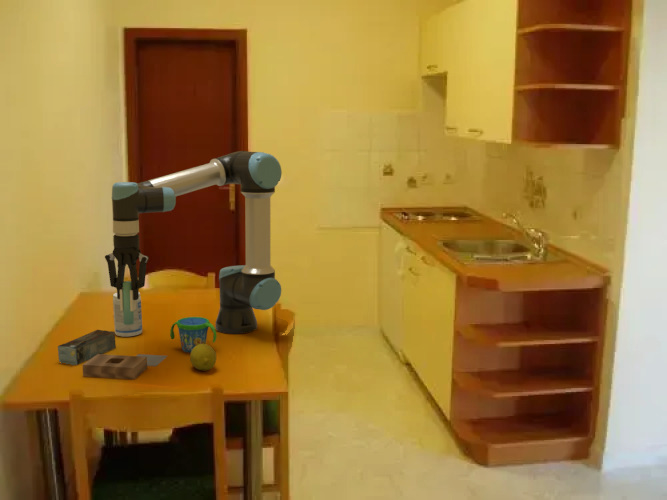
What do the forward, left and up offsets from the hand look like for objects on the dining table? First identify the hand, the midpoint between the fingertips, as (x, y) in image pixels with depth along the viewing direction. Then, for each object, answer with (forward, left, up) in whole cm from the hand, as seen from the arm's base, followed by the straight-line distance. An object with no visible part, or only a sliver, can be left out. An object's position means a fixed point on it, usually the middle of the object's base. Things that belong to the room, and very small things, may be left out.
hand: (128, 309), depth 228 cm
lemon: (-23, -2, -19) cm, 30 cm away
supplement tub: (+15, -33, -19) cm, 41 cm away
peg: (0, 0, -4) cm, 4 cm away
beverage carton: (+18, -8, -19) cm, 27 cm away
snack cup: (-14, -19, -19) cm, 30 cm away
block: (+2, +6, -18) cm, 20 cm away
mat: (-3, -6, -18) cm, 20 cm away
